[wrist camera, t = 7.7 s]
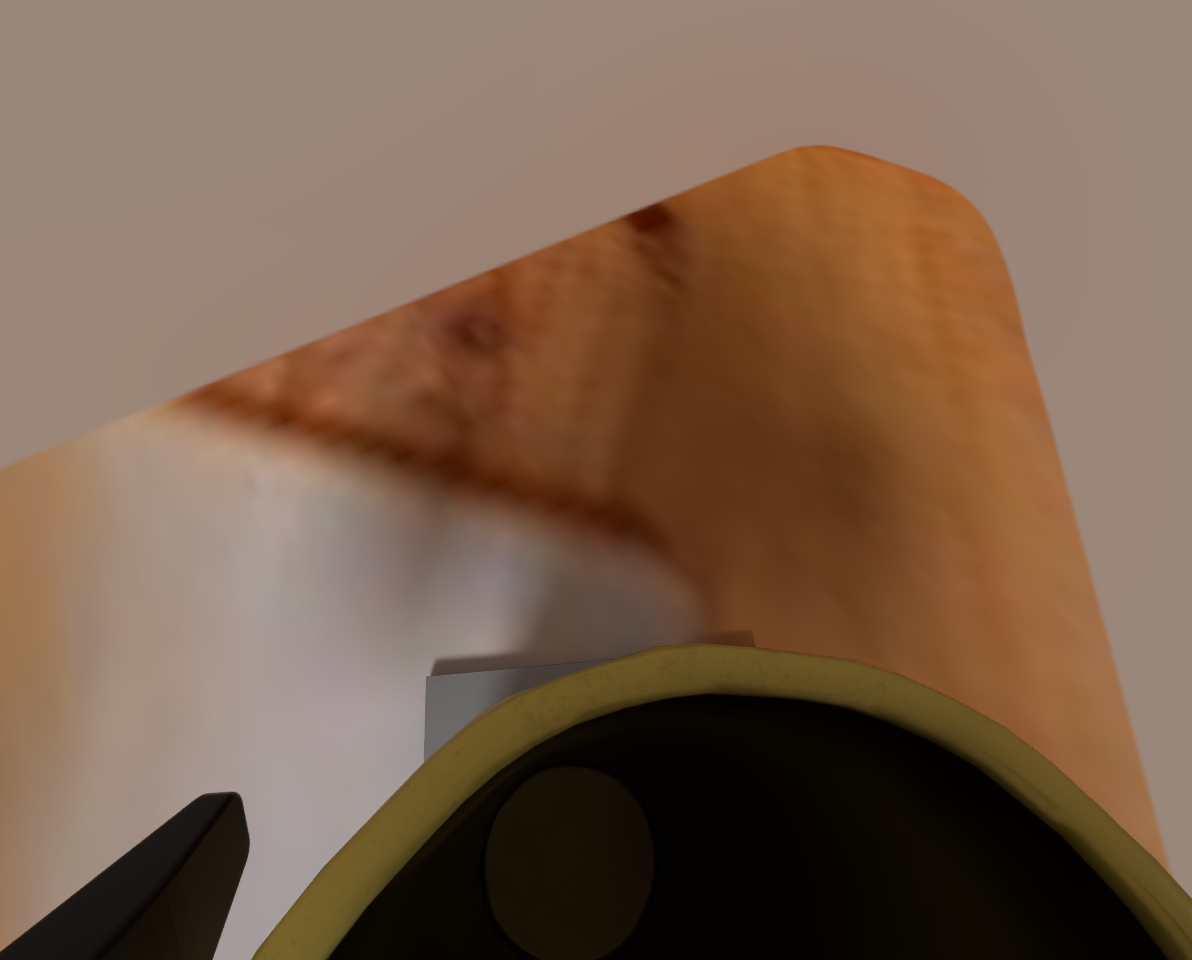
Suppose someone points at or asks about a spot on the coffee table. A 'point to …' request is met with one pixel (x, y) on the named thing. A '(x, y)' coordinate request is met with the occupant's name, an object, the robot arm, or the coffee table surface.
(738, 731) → the vase
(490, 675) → the mat
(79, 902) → the robot arm
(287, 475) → the coffee table surface
